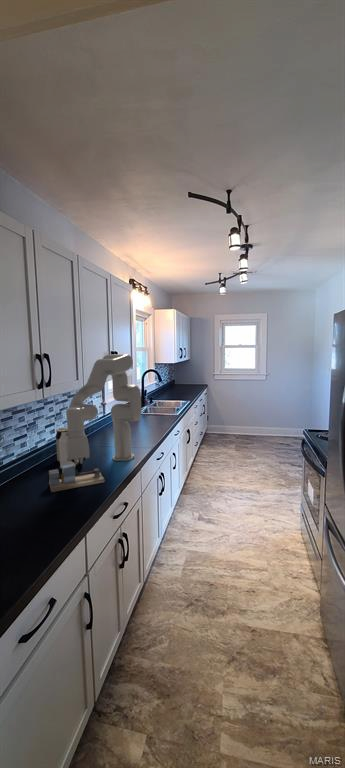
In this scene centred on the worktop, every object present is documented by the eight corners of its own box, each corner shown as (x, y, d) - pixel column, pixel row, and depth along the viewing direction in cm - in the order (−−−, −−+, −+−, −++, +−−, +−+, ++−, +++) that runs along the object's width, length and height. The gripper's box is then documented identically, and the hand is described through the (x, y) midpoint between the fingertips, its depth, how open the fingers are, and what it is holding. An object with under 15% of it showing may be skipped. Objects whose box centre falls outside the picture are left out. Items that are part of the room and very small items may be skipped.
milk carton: (72, 469, 184) (70, 434, 182) (60, 468, 185) (58, 434, 183) (78, 464, 191) (76, 430, 189) (67, 464, 192) (64, 430, 190)
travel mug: (60, 457, 204) (58, 427, 203) (73, 457, 204) (71, 427, 202) (55, 462, 197) (53, 431, 195) (69, 461, 196) (67, 430, 194)
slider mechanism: (49, 484, 164) (48, 469, 163) (100, 475, 174) (99, 460, 173) (51, 492, 155) (50, 475, 154) (104, 482, 165) (103, 466, 164)
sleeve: (62, 479, 164) (61, 465, 164) (73, 477, 166) (72, 463, 166) (64, 483, 159) (63, 469, 158) (75, 481, 161) (74, 467, 160)
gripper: (60, 438, 156) (63, 477, 158) (94, 433, 162) (96, 471, 164) (58, 434, 162) (61, 471, 165) (90, 429, 168) (93, 466, 171)
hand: (79, 471), depth 164 cm, fingers closed
